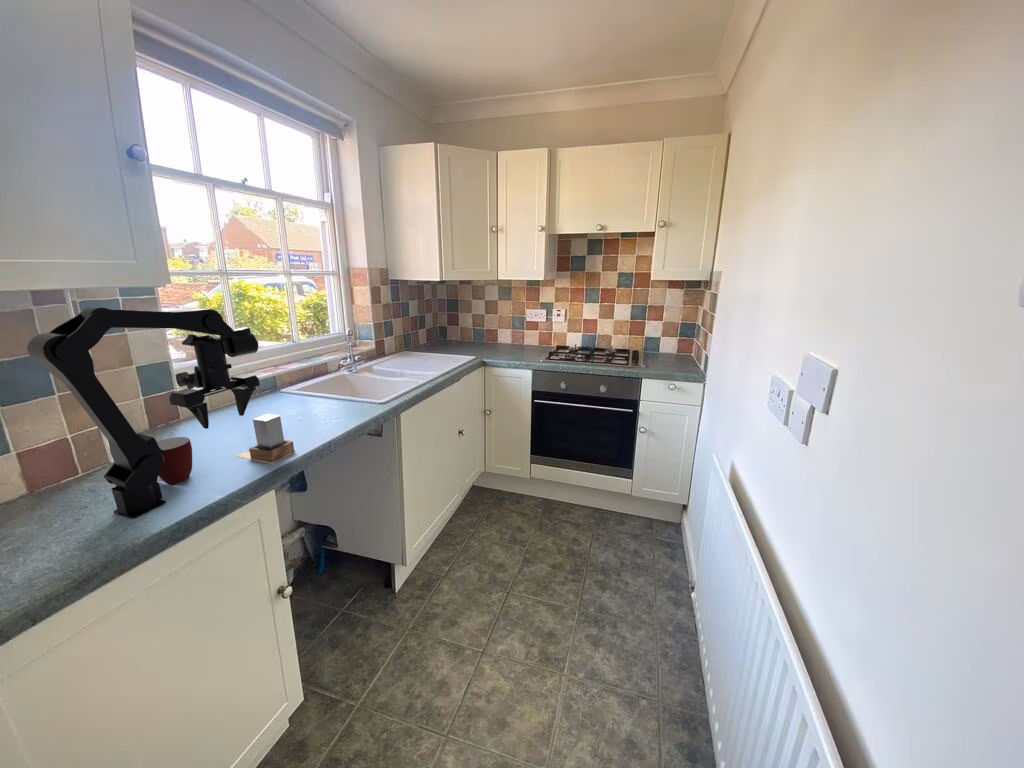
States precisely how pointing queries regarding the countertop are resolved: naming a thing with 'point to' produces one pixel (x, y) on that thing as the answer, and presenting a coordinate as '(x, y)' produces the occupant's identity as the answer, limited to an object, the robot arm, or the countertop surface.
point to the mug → (175, 459)
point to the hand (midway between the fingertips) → (224, 421)
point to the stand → (268, 453)
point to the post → (268, 431)
